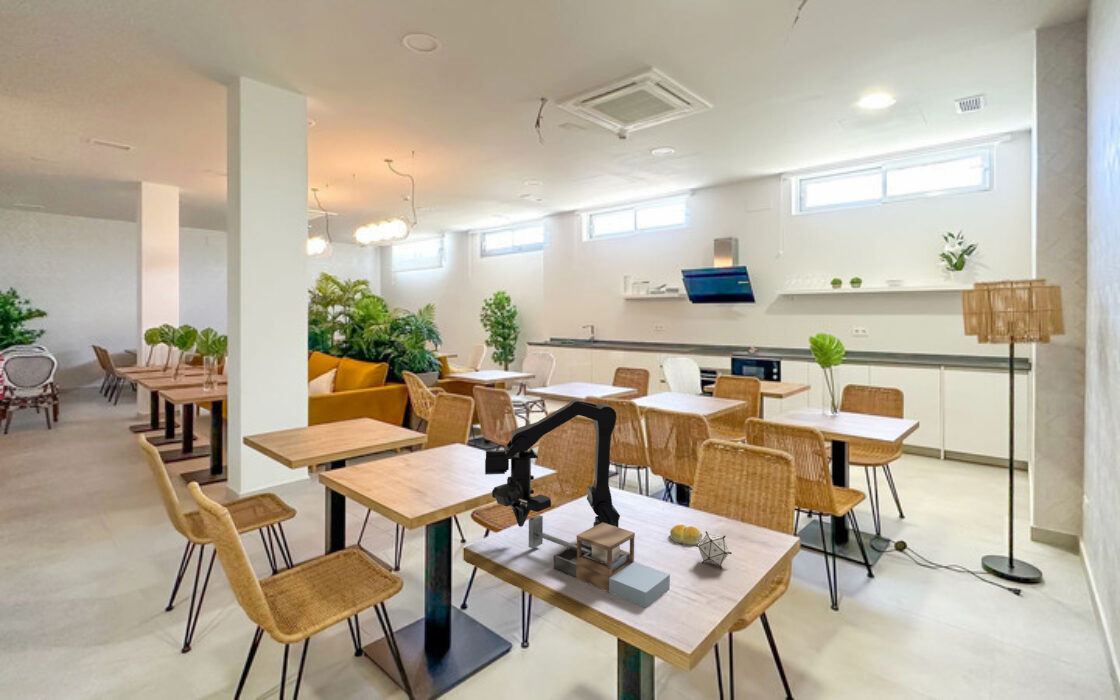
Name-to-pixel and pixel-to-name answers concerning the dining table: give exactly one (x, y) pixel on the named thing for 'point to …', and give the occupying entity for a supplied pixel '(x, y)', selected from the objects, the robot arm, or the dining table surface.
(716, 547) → the game die
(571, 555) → the tunnel
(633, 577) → the pad
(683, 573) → the dining table surface
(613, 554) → the block
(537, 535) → the slider
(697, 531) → the bread roll
